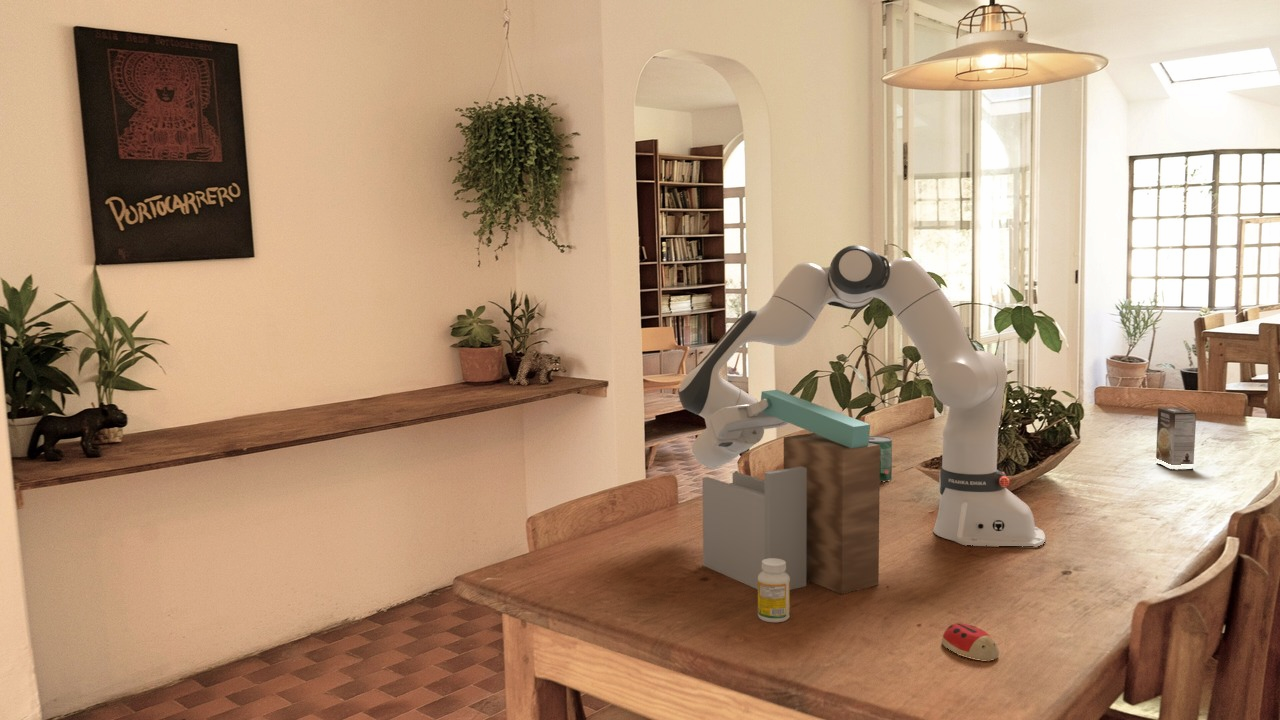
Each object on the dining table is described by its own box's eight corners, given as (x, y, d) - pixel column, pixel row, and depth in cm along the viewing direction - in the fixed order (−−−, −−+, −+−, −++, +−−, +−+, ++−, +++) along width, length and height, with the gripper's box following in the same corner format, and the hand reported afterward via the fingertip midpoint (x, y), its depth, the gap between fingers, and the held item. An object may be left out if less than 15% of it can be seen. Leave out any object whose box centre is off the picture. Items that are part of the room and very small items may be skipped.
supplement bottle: (778, 625, 162) (778, 568, 161) (751, 618, 166) (751, 562, 165) (796, 616, 166) (796, 560, 165) (768, 609, 170) (768, 554, 169)
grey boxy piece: (703, 565, 194) (702, 454, 192) (737, 557, 198) (737, 449, 196) (770, 594, 177) (769, 473, 174) (806, 586, 181) (806, 467, 179)
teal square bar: (760, 410, 197) (761, 391, 196) (775, 408, 199) (777, 389, 198) (851, 448, 175) (853, 426, 175) (868, 445, 178) (870, 424, 177)
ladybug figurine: (977, 668, 145) (978, 644, 145) (929, 645, 154) (929, 623, 154) (1010, 658, 148) (1011, 635, 148) (961, 636, 157) (961, 615, 157)
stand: (783, 570, 190) (783, 437, 187) (819, 562, 195) (819, 432, 192) (842, 594, 176) (842, 450, 174) (878, 584, 181) (879, 444, 178)
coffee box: (1154, 463, 279) (1156, 407, 277) (1177, 463, 279) (1179, 406, 277) (1171, 470, 270) (1173, 412, 268) (1195, 470, 269) (1197, 412, 268)
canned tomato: (895, 477, 267) (896, 437, 265) (886, 483, 260) (886, 442, 259) (867, 474, 271) (867, 434, 270) (857, 480, 264) (857, 439, 263)
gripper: (785, 435, 210) (824, 410, 199) (707, 447, 199) (743, 420, 188) (776, 408, 212) (813, 381, 201) (697, 418, 201) (733, 390, 191)
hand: (779, 400), depth 195 cm, fingers closed on teal square bar, 4 cm apart
